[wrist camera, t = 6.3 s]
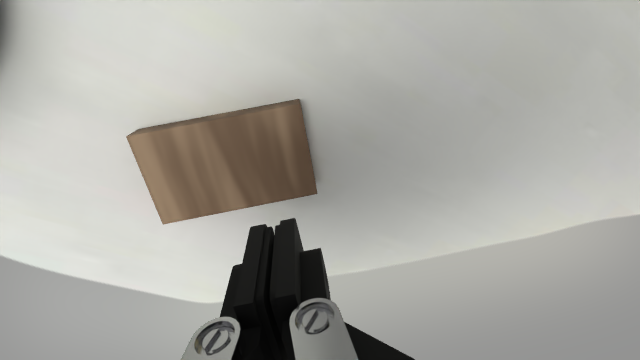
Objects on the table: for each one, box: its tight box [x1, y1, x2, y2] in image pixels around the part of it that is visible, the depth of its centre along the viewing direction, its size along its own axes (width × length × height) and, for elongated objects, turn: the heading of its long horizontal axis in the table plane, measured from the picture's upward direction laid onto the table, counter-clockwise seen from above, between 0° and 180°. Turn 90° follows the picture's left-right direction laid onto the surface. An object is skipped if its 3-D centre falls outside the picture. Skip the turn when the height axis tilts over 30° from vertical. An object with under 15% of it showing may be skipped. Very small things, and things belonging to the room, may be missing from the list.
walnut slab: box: [126, 99, 317, 224], centre depth 25 cm, size 2×7×12 cm
